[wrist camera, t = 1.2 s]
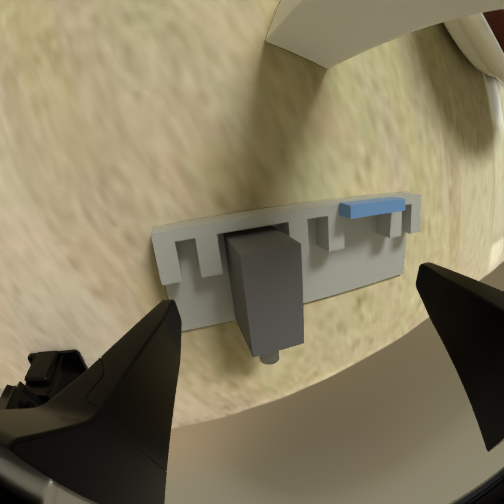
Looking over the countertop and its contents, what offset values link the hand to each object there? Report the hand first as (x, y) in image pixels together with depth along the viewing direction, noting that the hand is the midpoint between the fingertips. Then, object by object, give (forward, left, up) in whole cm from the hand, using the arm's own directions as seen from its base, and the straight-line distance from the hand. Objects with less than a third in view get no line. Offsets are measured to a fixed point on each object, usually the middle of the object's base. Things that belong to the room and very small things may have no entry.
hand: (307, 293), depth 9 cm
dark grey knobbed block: (-6, -1, -13) cm, 14 cm away
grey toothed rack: (-4, -6, -13) cm, 15 cm away
